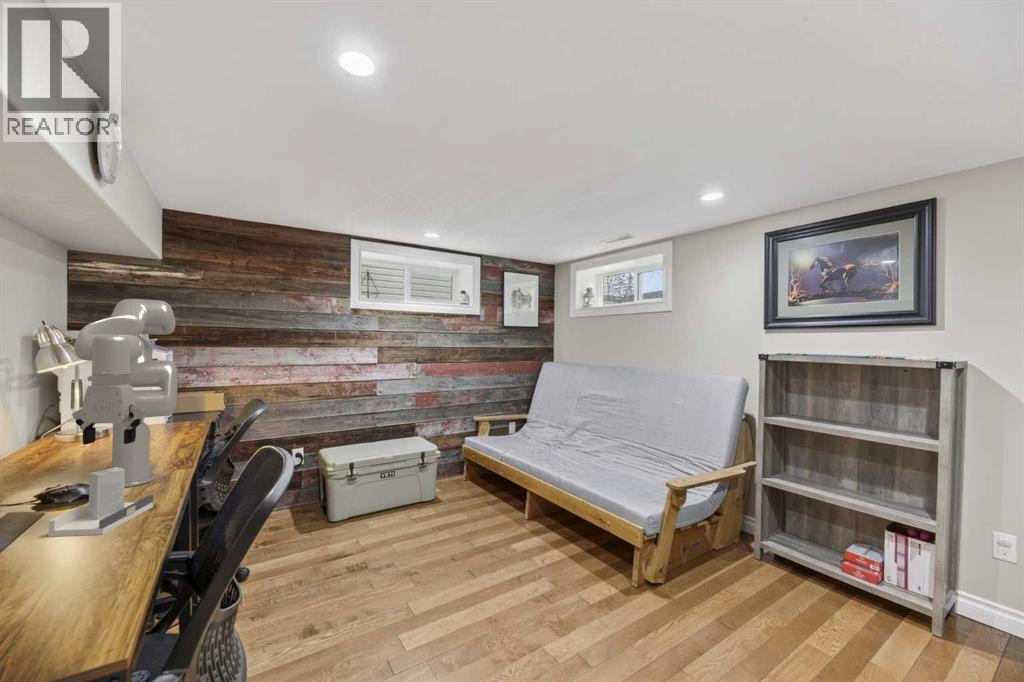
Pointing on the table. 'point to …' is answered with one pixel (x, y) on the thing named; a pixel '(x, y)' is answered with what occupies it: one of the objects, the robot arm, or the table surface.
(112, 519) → the price rail
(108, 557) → the table surface
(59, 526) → the display shelf
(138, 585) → the table surface
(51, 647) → the table surface
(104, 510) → the skincare box
